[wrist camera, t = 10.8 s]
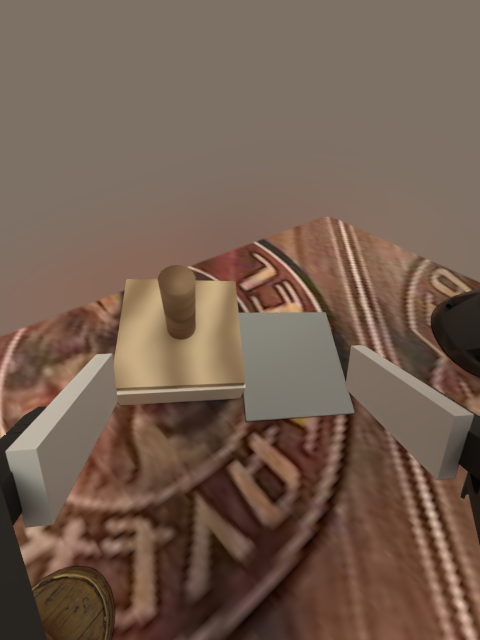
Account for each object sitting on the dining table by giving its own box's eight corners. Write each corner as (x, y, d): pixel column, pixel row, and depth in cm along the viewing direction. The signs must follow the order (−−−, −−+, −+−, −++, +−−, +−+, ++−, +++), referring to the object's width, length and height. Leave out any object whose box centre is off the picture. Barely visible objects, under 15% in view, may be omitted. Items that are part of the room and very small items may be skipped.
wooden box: (231, 304, 43) (235, 285, 39) (239, 398, 36) (245, 387, 31) (133, 304, 41) (125, 284, 36) (120, 405, 33) (109, 395, 29)
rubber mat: (324, 314, 45) (325, 312, 44) (352, 413, 37) (354, 412, 36) (235, 314, 42) (235, 312, 42) (245, 421, 34) (246, 420, 34)
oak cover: (234, 286, 39) (245, 228, 30) (243, 385, 32) (262, 349, 23) (128, 284, 36) (106, 221, 27) (112, 391, 29) (75, 353, 20)
